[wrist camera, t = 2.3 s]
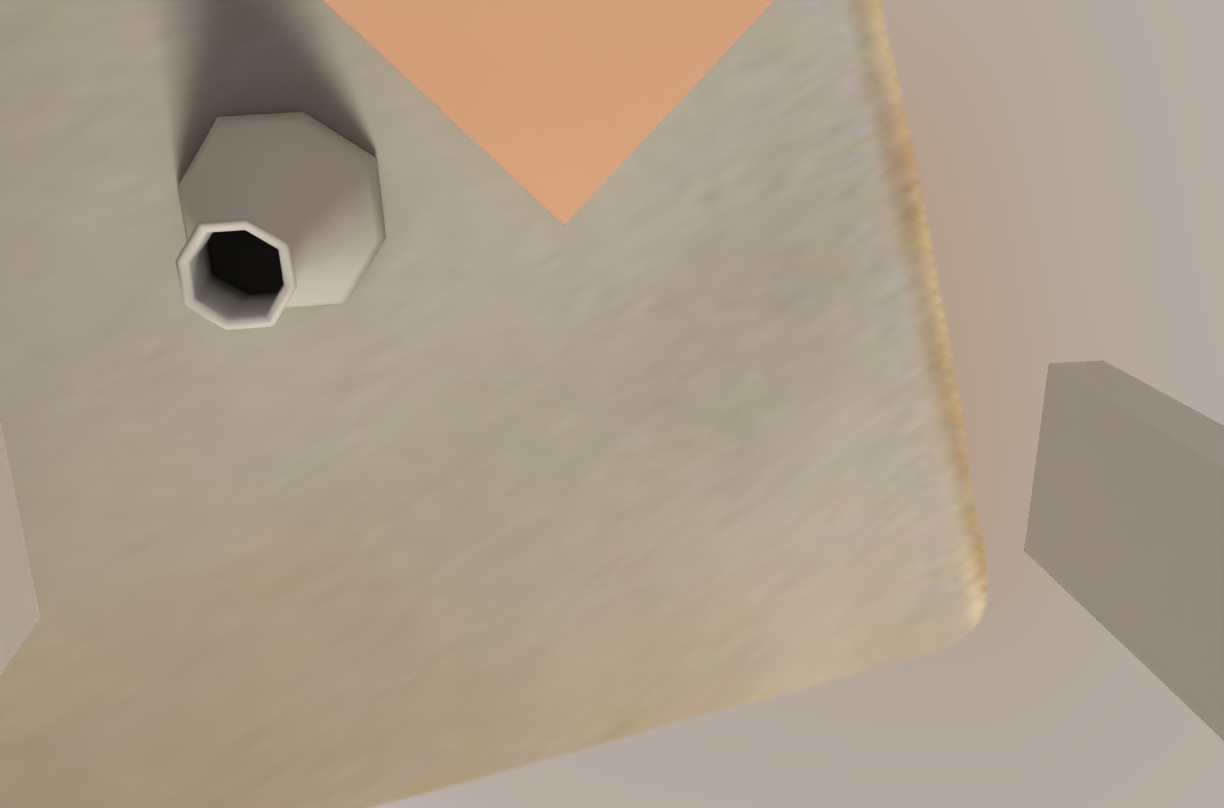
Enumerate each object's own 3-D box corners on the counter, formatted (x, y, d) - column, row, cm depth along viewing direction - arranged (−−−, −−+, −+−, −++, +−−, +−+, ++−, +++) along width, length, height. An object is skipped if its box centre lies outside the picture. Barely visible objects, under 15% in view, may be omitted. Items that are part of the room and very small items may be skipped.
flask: (365, 330, 41) (343, 424, 32) (163, 284, 40) (77, 369, 30) (407, 138, 39) (396, 179, 30) (196, 82, 38) (115, 107, 28)
